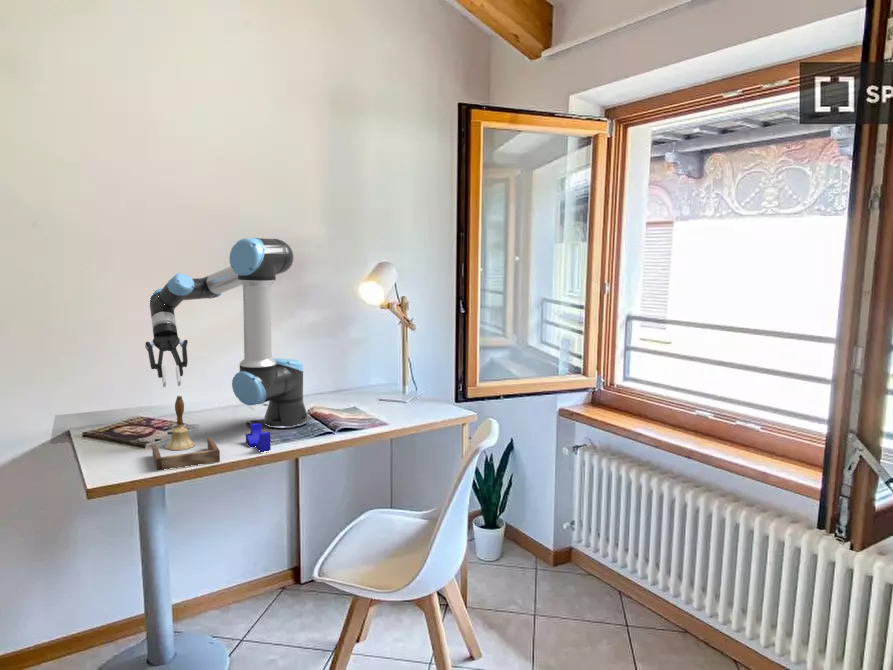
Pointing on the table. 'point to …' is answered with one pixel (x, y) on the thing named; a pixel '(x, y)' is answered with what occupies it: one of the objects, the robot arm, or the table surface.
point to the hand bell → (179, 430)
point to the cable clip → (258, 438)
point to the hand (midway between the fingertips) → (172, 384)
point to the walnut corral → (187, 457)
